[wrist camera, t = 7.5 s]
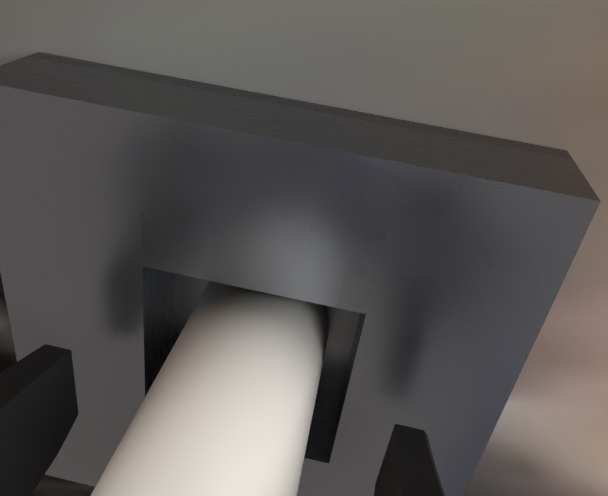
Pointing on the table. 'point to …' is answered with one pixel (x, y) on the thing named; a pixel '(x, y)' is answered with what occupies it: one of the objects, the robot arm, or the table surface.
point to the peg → (227, 402)
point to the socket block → (278, 253)
